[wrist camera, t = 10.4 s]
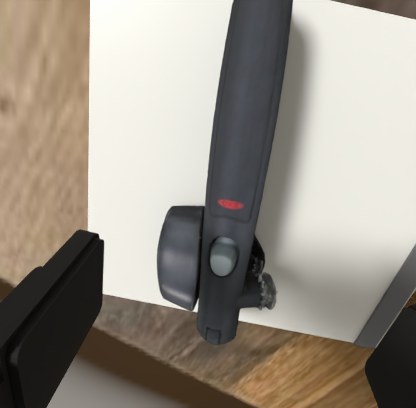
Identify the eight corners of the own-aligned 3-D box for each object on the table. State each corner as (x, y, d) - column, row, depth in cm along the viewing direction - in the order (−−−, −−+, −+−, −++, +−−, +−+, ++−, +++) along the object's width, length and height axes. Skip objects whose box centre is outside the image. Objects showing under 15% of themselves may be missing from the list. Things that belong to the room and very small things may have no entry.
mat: (561, 55, 14) (579, 55, 13) (372, 340, 23) (377, 349, 22) (96, -50, 13) (89, -55, 13) (90, 284, 22) (86, 292, 22)
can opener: (254, 297, 21) (262, 373, 16) (157, 280, 21) (134, 351, 16) (348, 0, 13) (422, -36, 8) (192, -29, 13) (167, -85, 8)
